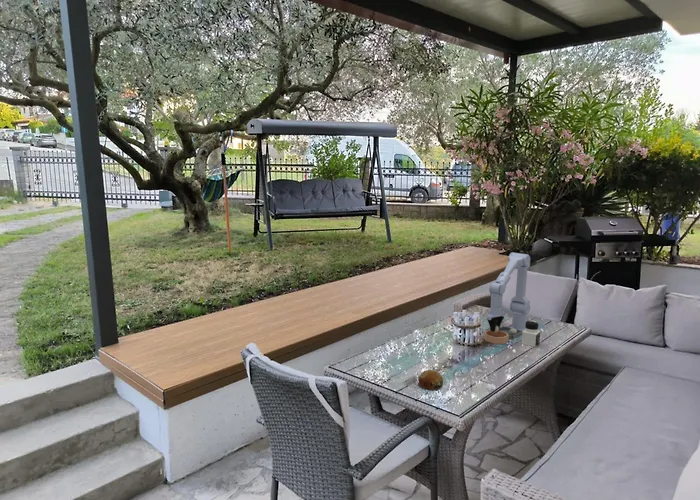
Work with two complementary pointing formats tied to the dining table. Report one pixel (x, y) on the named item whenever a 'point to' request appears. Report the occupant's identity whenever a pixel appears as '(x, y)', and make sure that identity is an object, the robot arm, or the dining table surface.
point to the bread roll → (431, 380)
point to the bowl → (496, 337)
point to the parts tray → (506, 329)
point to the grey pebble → (512, 331)
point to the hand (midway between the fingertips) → (494, 330)
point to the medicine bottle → (531, 334)
